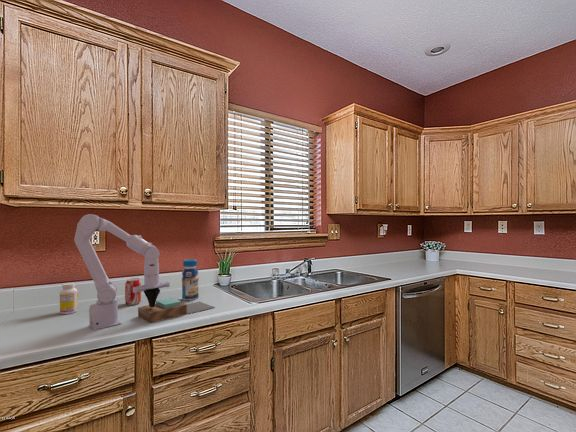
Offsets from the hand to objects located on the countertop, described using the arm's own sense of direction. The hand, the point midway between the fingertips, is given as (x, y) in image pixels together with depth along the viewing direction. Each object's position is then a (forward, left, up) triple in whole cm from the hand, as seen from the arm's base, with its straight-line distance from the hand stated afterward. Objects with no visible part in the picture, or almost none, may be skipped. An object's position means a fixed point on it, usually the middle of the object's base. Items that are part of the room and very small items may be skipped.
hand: (151, 306), depth 131 cm
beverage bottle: (+27, +17, -5) cm, 32 cm away
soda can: (+3, +29, -5) cm, 30 cm away
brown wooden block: (+5, 0, -5) cm, 7 cm away
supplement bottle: (-22, +36, -5) cm, 43 cm away
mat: (+20, 0, -5) cm, 20 cm away
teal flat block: (+7, 0, -1) cm, 7 cm away
